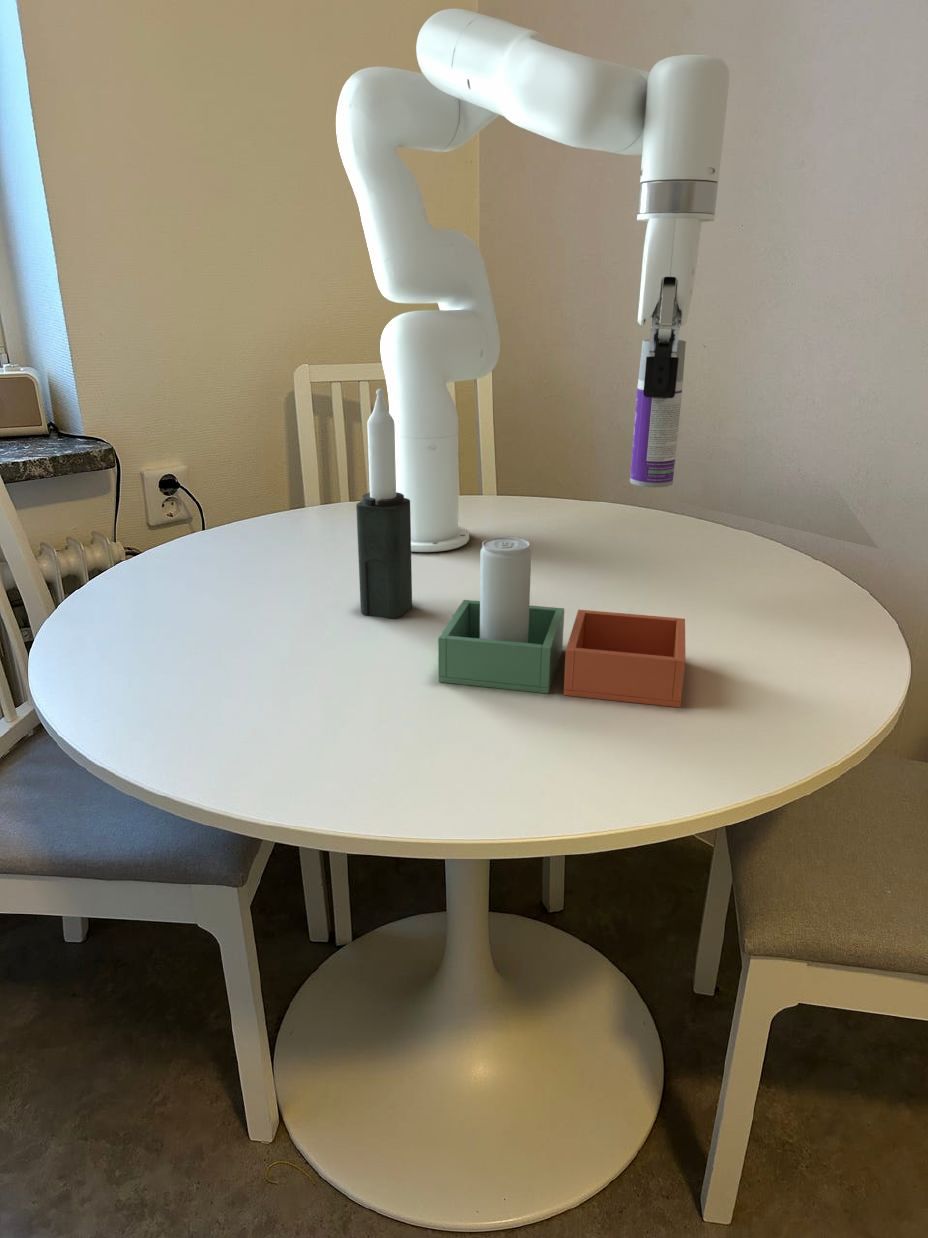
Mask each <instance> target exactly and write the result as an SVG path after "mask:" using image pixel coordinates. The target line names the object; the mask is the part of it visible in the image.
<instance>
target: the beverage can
mask: <svg viewBox="0 0 928 1238" xmlns="http://www.w3.org/2000/svg"><path fill="white" fill-rule="evenodd" d="M530 543H531V542H529V541H528V540H526V539H524V538H521V537H513V536H496V537H490V538H487V539H485V540H483V541H482V542H481V546H482V547H481V549H480V555H479V557H480V559H479V560H480V561H479V562H480V563H479V564H480V567H479V568H480V569H479V577H480V578H479V589H480V590H479V601H480V639H488V640H499V641H509V642H520V643H528V631H529V605H531V603H530V602H531V572H532V570H531V569H532V550H531V548H530V547H531V544H530Z"/></svg>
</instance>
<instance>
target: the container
mask: <svg viewBox="0 0 928 1238" xmlns="http://www.w3.org/2000/svg"><path fill="white" fill-rule="evenodd" d="M650 339H651V338H647V339H642V343H641V351H640V359H639V370H638V377H637V378H638V379H637V387H636V400H635V411H634V423H633V435H632V436H633V437H632V449H631V461H630V475H629V482H630V484H632V485H634V486H638V487H643V488H667V487H671V486H672V485H673V483H674V473H675V465H676V456H677V455H676V454H677V445H678V437H679V436H678V435H679V427H680V426H679V425H680V416H681V407H682V397H683V385H684V373H685V359H686V347H687V346H686V345H687V341H686V340H681V339H678V346H677V356H676V358H679V360H678V370H677V380H676V390H675V396H674V397H673V398H652V397H645V396H644V394H643V392H644V381H645V369H646V357H649V350H650ZM672 343H673V342H672ZM655 345H656V342H655ZM654 357H655V353H654Z"/></svg>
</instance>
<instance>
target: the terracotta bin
mask: <svg viewBox="0 0 928 1238" xmlns="http://www.w3.org/2000/svg"><path fill="white" fill-rule="evenodd" d="M564 658H565V660H564V677H563V678H564V679H563V681H564V682H563V696H568V697H577V698H587V699H597V700H606V701H615V702H624V703H625V702H626V703H634V704H643V705H653V706H660V707H661V706H663V707H672V708H681V707H682V697H683V690H684V689H683V687H684V678H685V671H686V618H682V617H670V616H661V615H660V616H658V615H649V614H648V615H647V614H637V613H636V614H634V613H624V612H614V611H613V612H611V611H602V610H601V611H600V610H590V609H589V610H588V609H577V612H576V615H575V619H574V621H573V626H572V630H571V632H570V636H569V638H568V642H567V645H566V649H565V657H564Z"/></svg>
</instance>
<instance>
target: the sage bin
mask: <svg viewBox="0 0 928 1238" xmlns="http://www.w3.org/2000/svg"><path fill="white" fill-rule="evenodd" d="M564 625H565V608H564V607H555V606H554V607H553V606H541V605H531V604H529V631H528V643H520V642H509V641H499V640H488V639H480V600H473V599H472V600H470V599H463V600H462V601H461V603H460V605H459V606H458V608H457V609H456V611H455V612H454V614H453V615H452V617H451V618H450V620H449V621H448V623H447V624H446V626H444V629H443V630H442V631H441V633H440V635H439V636H438V638H437V639H438V640H437V648H438V649H437V652H438V654H437V658H438V659H437V661H438V665H437V666H438V671H437V672H438V681H437V682H438V683H446V684H455V685H464V686H473V687H484V688H492V689H503V690H511V691H512V690H513V691H522V692H529V693H539V694H540V693H541V694H549V693H550V690H551V687H552V683H553V680H554V677H555V673H556V671H557V668H558V664H559V662H560V658H561V655H562V652H563V648H564V647H563V646H564V645H563V644H564Z"/></svg>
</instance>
